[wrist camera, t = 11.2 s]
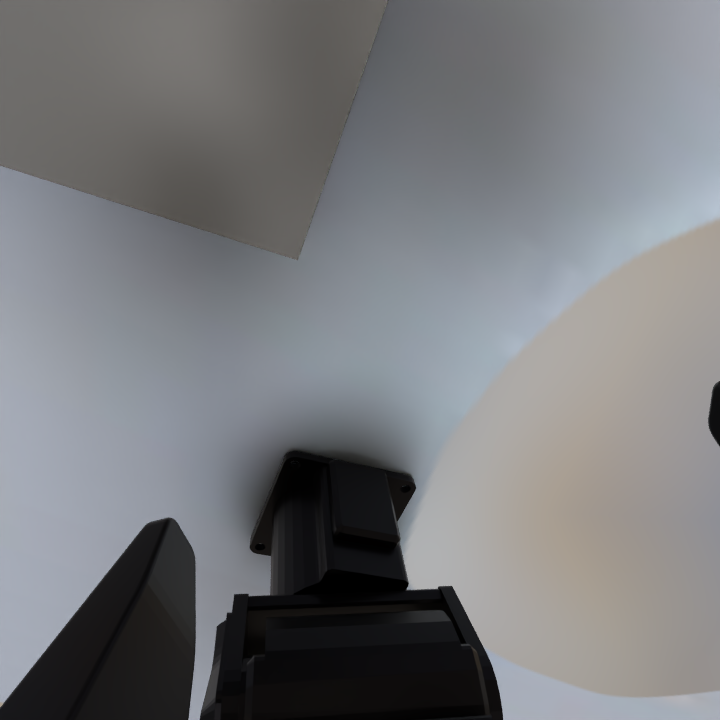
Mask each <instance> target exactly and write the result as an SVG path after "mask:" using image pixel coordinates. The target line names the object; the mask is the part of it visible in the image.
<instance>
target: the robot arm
mask: <svg viewBox="0 0 720 720" xmlns="http://www.w3.org/2000/svg"><path fill="white" fill-rule="evenodd" d="M708 423H709V429H710V431H711V434H712V435H713V437H714V439H715V440H716V442H717V443H718V444H719V446H720V381H719V382H717V383H716V384H715V385H714V387H713V391H712V397H711V404H710V411H709V418H708ZM292 461H297V462H298V463H296V464H293V463H291V462H292ZM403 485H407V486H405V487H402V486H403ZM415 489H416V486H415V482H414V479H413V478H412V477H411V476H408V475H404V474H400V473H395V472H390V471H386V470H381V469H377V468H372V467H368V466H363V465H359V464H354V463H349V462H345V461H340V460H336V459H331V458H327V457H322V456H318V455H313V454H309V453H304V452H299V451H291V452H289V453H287V454H286V455H285V456H284V458H283V461H282V463H281V466H280V468H279V470H278V473H277V475H276V478H275V480H274V483H273V485H272V488H271V490H270V493H269V495H268V497H267V500H266V502H265V505H264V507H263V510H262V512H261V515H260V517H259V520H258V522H257V524H256V527H255V529H254V532H253V534H252V537H251V540H250V549H251V551H252V552H254V553H257V554H262V555H268V556H271V587H270V595H269V596H249V594H234V602H233V609H232V613H227V618H226V620H225V621H224V622H222V623H221V624H219V625H218V626H217V632H216V641H215V650H214V658H213V665H212V670H211V675H210V679H209V683H208V687H207V691H206V695H205V699H204V702H203V706H202V710H201V715H200V720H503V713H502V706H501V699H500V693H499V689H498V685H497V680H496V677H495V674H494V671H493V667H492V665H491V662H490V660H489V658H488V655H487V653H486V651H485V649H484V648H483V646H482V644H481V642H480V640H479V638H478V636H477V634H476V632H475V630H474V628H473V626H472V624H471V622H470V620H469V618H468V616H467V614H466V612H465V610H464V608H463V606H462V604H461V602H460V601H459V599H458V597H457V595H456V593H455V591H454V589H453V587H452V586H440V587H438V589H424V590H407V587H408V584H409V583H408V578H407V574H406V569H405V565H404V560H403V555H402V551H401V546H400V534H399V529H398V525H397V521H398V520H399V518H400V516H401V514H402V513H403V511H404V509H405V507H406V506H407V504H408V502H409V500H410V499H411V497H412V495H413V493H414V492H415ZM259 543H262V544H259ZM195 639H196V611H195V556H194V552H193V549H192V547H191V545H190V543H189V542H188V540H187V538H186V537H185V535H184V533H183V532H182V530H181V528H180V526H179V525H178V523H177V522H176V520H174V519H173V518H165V519H161V520H157V521H152V522H150V523H148V524H146V525H145V526H144V527H143V529H142V530H141V531H140V532H139V534H138V535H137V536H136V537H135V539H134V540H133V541H132V543H131V544H130V545H129V546H128V548H127V549H126V550H125V551H124V553H123V554H122V555H121V556H120V558H119V559H118V560H117V561H116V563H115V564H114V565H113V566H112V568H111V569H110V570H109V571H108V573H107V574H106V575H105V576H104V578H103V579H102V580H101V581H100V583H99V584H98V585H97V587H96V588H95V589H94V590H93V592H92V593H91V594H90V595H89V597H88V598H87V599H86V600H85V602H84V603H83V604H82V605H81V607H80V608H79V609H78V610H77V612H76V613H75V614H74V615H73V617H72V618H71V619H70V620H69V622H68V623H67V624H66V626H65V627H64V628H63V629H62V631H61V632H60V633H59V634H58V636H57V637H56V638H55V639H54V641H53V642H52V643H51V644H50V646H49V647H48V648H47V649H46V651H45V652H44V653H43V654H42V656H41V657H40V658H39V659H38V661H37V662H36V663H35V665H34V666H33V667H32V668H31V670H30V671H29V672H28V673H27V675H26V676H25V677H24V678H23V680H22V681H21V682H20V683H19V685H18V686H17V687H16V688H15V690H14V691H13V692H12V693H11V695H10V696H9V697H8V698H7V700H6V701H5V702H4V703H3V705H2V706H1V707H0V720H188V718H189V708H190V699H191V690H192V681H193V671H194V661H195Z"/></svg>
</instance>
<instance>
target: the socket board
mask: <svg viewBox="0 0 720 720" xmlns="http://www.w3.org/2000/svg"><path fill="white" fill-rule="evenodd" d="M387 3H388V0H0V166H3V167H7V168H10V169H13V170H16V171H19V172H22V173H25V174H29V175H32V176H35V177H38V178H41V179H44V180H47V181H51V182H54V183H57V184H60V185H63V186H66V187H69V188H73V189H76V190H79V191H82V192H85V193H88V194H91V195H95V196H98V197H101V198H104V199H107V200H110V201H113V202H117V203H120V204H123V205H126V206H129V207H132V208H135V209H139V210H142V211H145V212H148V213H151V214H154V215H157V216H161V217H164V218H167V219H170V220H173V221H176V222H179V223H183V224H186V225H189V226H192V227H195V228H198V229H201V230H205V231H208V232H211V233H214V234H217V235H220V236H223V237H227V238H230V239H233V240H236V241H239V242H242V243H245V244H249V245H252V246H255V247H258V248H261V249H264V250H267V251H271V252H274V253H277V254H280V255H283V256H286V257H289V258H293V259H296V260H298V258H299V255H300V252H301V250H302V247H303V244H304V241H305V238H306V235H307V232H308V229H309V227H310V224H311V221H312V218H313V215H314V212H315V209H316V206H317V204H318V201H319V198H320V195H321V192H322V189H323V186H324V184H325V181H326V178H327V175H328V172H329V169H330V166H331V163H332V161H333V158H334V155H335V152H336V149H337V146H338V143H339V140H340V138H341V135H342V132H343V129H344V126H345V123H346V120H347V118H348V115H349V112H350V109H351V106H352V103H353V100H354V97H355V95H356V92H357V89H358V86H359V83H360V80H361V77H362V74H363V72H364V69H365V66H366V63H367V60H368V57H369V54H370V51H371V49H372V46H373V43H374V40H375V37H376V34H377V31H378V29H379V26H380V23H381V20H382V17H383V14H384V11H385V8H386V6H387Z"/></svg>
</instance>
